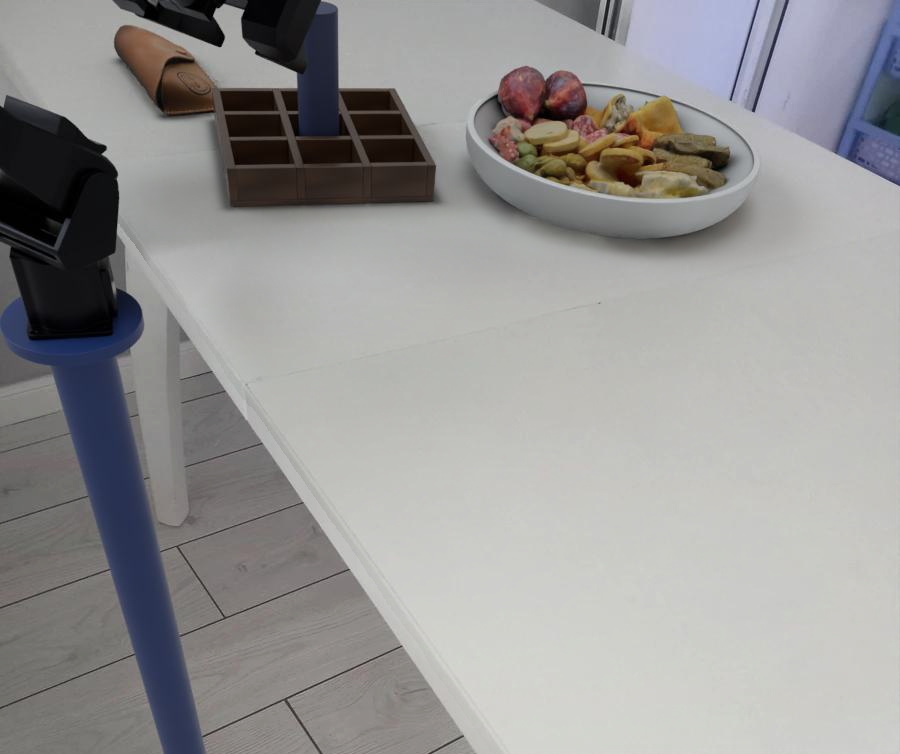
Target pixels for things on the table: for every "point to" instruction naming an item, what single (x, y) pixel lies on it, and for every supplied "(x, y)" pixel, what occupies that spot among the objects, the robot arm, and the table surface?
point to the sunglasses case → (165, 71)
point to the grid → (320, 150)
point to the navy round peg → (320, 76)
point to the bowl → (608, 156)
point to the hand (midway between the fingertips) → (262, 55)
